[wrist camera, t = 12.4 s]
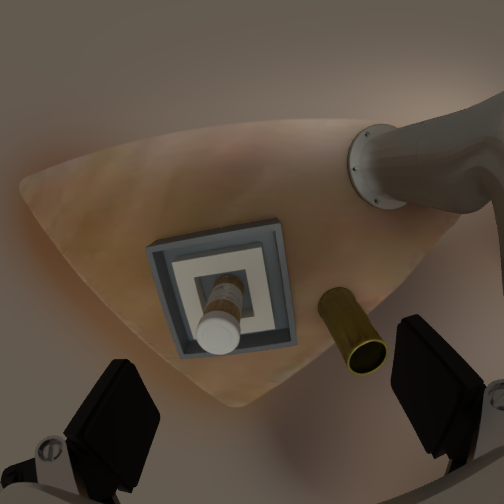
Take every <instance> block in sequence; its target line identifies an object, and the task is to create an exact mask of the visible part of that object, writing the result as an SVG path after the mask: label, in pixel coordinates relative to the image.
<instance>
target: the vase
mask: <svg viewBox="0 0 504 504" xmlns="http://www.w3.org/2000/svg"><path fill="white" fill-rule="evenodd" d="M318 310H319V314H320V316H321V318H322V319H323V320H324V322H325V324H326V326H327V327H328V329H329V331H330V333H331V335H332V337H333V339H334V341H335V342H336V344H337V346H338V348H339V350H340V352H341V354H342V356H343V358H344V360H345V363H346V365H347V367H348V369H349V371H350V372H352V373H353V374H355V375H359V376H364V375H368V374H371V373H374V372H375V371H377V370H378V369H379V368H380V367H381V366H382V365H383V364H384V363H385V361H386V359H387V357H388V353H389V348H388V345H387V344H386V343H385V342H384V341H383V340H382V338H381V337H380V335H379V334H378V332H377V331H376V330H375V328H374V327H373V325H372V324H371V322H370V320H369V318H368V316H367V315H366V313H365V312H364V310H363V309H362V307H361V306H360V305H359V304H358V302H357V301H356V299H355V297H354V295H353V293H352V292H351V291H350V290H348V289H345V288H335V289H332V290H330V291H328V292H327V293H326V294H324V296H323V297H322V298H321V300H320V302H319V307H318Z"/></svg>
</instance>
